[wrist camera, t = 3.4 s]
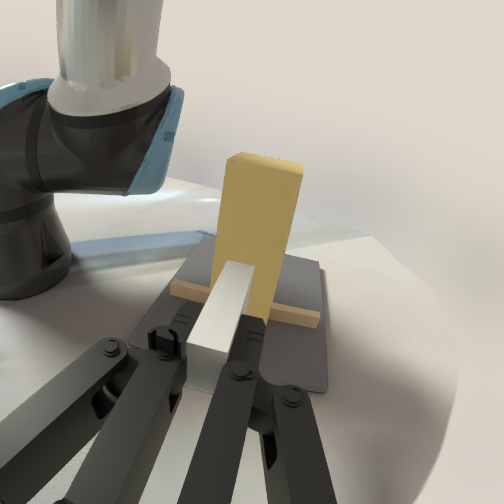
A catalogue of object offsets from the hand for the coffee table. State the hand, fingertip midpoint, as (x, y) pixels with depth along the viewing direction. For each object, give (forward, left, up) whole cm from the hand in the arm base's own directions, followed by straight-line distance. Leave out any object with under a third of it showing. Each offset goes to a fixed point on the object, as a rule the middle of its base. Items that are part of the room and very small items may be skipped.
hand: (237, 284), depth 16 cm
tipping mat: (-11, +10, -11) cm, 19 cm away
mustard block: (-6, +5, -10) cm, 13 cm away
